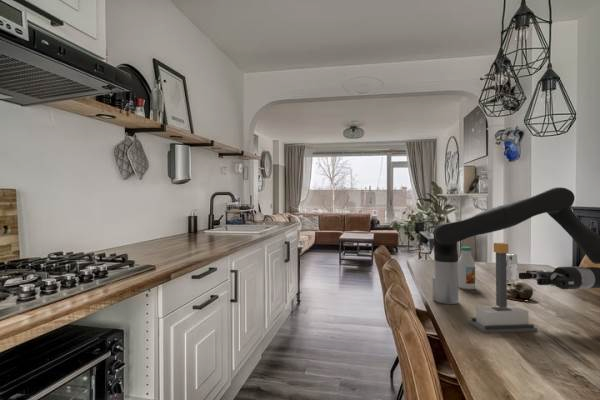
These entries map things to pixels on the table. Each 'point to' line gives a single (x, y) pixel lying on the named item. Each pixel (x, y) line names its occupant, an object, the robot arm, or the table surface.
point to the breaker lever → (501, 274)
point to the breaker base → (501, 319)
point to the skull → (519, 291)
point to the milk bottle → (466, 269)
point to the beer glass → (511, 268)
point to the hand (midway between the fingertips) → (528, 278)
